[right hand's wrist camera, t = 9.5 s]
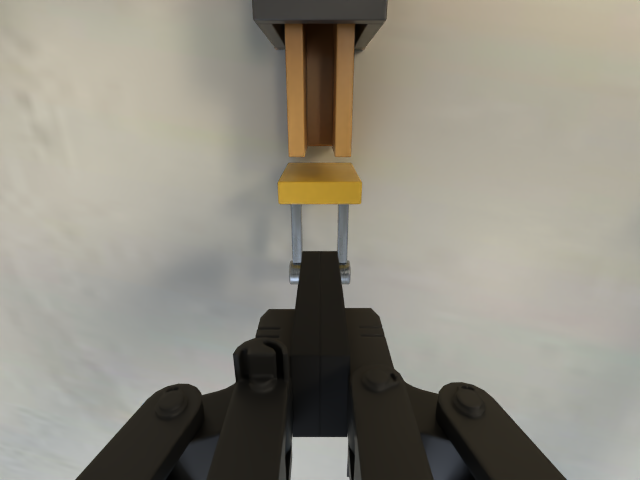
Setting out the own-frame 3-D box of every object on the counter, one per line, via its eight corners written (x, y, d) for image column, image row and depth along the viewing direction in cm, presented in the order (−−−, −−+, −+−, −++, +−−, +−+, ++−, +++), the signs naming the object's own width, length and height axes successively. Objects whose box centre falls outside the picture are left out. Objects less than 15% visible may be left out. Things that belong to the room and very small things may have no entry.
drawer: (348, 259, 26) (356, 304, 20) (291, 259, 26) (282, 304, 20) (359, -89, 19) (378, -178, 13) (279, -89, 19) (261, -178, 13)
